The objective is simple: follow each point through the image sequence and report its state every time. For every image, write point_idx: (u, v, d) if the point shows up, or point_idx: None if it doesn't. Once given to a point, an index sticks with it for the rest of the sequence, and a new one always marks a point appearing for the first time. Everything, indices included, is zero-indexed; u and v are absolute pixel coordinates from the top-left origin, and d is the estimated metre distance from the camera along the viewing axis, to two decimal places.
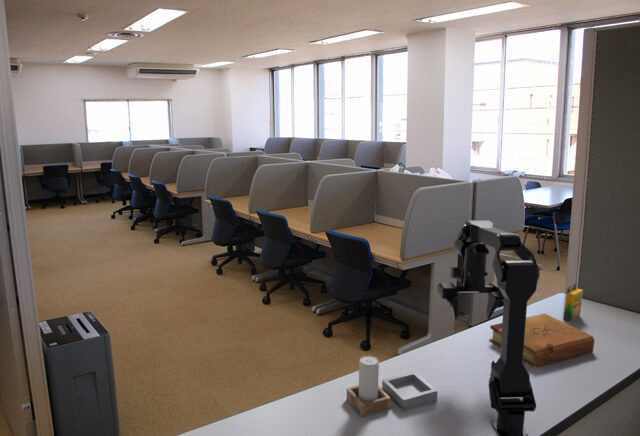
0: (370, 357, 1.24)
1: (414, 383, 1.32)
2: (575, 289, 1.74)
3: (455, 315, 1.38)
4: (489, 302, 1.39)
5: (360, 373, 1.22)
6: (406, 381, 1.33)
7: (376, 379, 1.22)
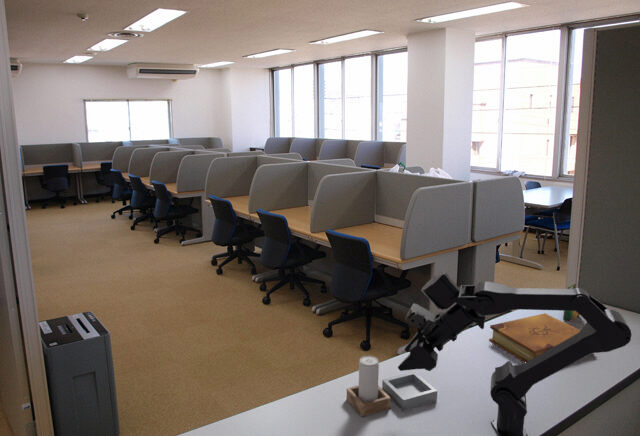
0: (370, 357, 1.24)
1: (414, 383, 1.32)
2: None
3: None
4: (418, 339, 1.23)
5: (360, 373, 1.22)
6: (406, 381, 1.33)
7: (376, 379, 1.22)
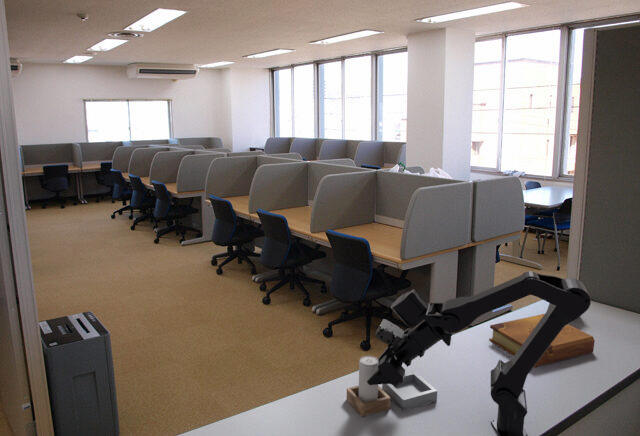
0: (370, 357, 1.24)
1: (414, 383, 1.32)
2: None
3: None
4: (389, 353, 1.26)
5: (360, 373, 1.22)
6: (406, 381, 1.33)
7: None
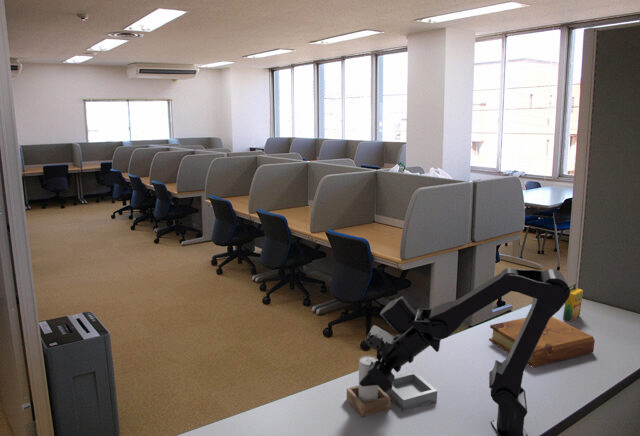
0: (370, 357, 1.24)
1: (414, 383, 1.32)
2: (575, 289, 1.74)
3: None
4: None
5: (360, 373, 1.22)
6: (406, 381, 1.33)
7: None
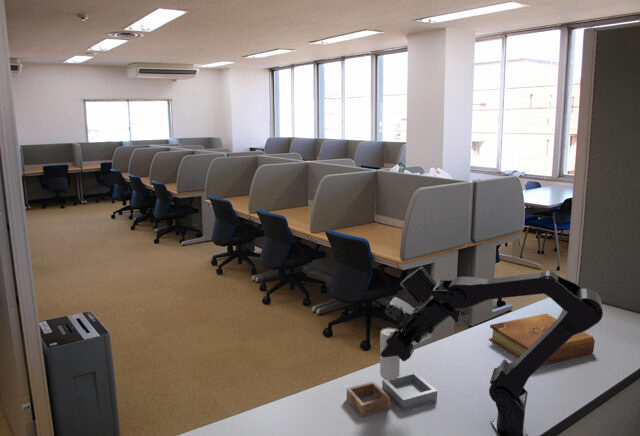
0: (392, 329, 1.25)
1: (414, 383, 1.32)
2: None
3: None
4: None
5: (381, 344, 1.23)
6: (406, 381, 1.33)
7: None
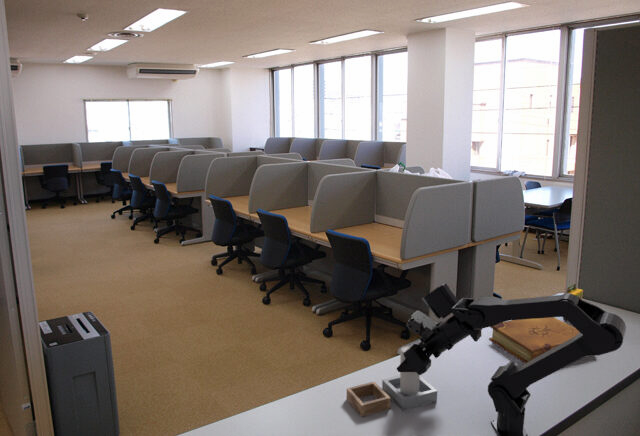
0: None
1: None
2: (575, 289, 1.74)
3: None
4: (424, 345, 1.29)
5: (401, 361, 1.26)
6: None
7: None
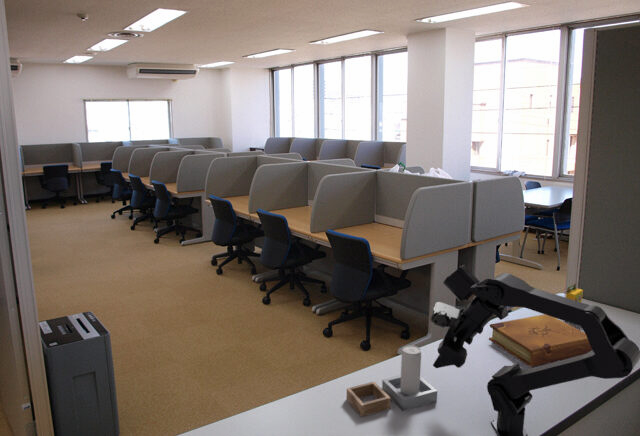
0: (414, 347, 1.27)
1: None
2: (575, 289, 1.74)
3: None
4: (452, 332, 1.26)
5: (402, 361, 1.26)
6: None
7: (417, 369, 1.25)
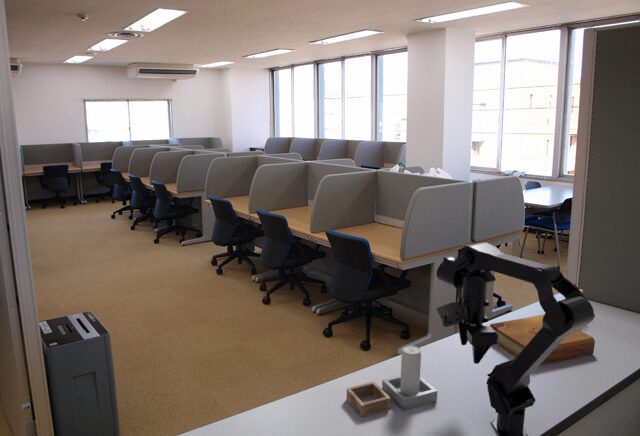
0: (414, 347, 1.27)
1: None
2: None
3: None
4: (463, 327, 1.27)
5: (402, 361, 1.26)
6: None
7: (417, 369, 1.25)
